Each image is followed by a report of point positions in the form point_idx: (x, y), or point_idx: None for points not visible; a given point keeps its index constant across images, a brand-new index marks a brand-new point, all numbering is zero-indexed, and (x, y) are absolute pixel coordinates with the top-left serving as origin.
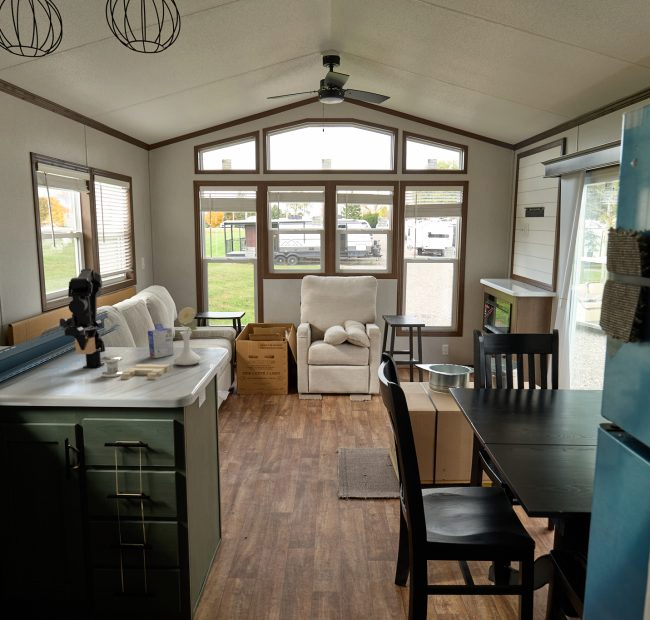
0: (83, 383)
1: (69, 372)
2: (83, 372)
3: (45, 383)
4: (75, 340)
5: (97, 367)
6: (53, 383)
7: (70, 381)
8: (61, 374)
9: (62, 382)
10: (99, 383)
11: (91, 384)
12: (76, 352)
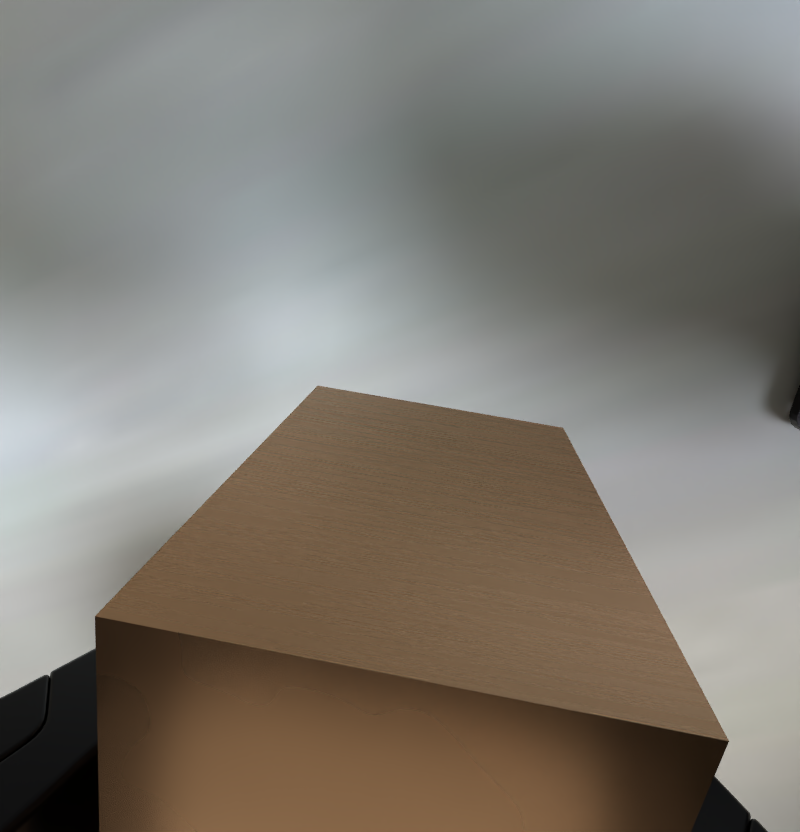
0: (77, 483)
1: (625, 95)
2: (580, 311)
3: (47, 3)
4: (145, 583)
5: (792, 424)
6: (55, 125)
7: (149, 311)
8: (521, 14)
9: (104, 228)
10: (86, 628)
11: (48, 569)
12: (307, 404)
